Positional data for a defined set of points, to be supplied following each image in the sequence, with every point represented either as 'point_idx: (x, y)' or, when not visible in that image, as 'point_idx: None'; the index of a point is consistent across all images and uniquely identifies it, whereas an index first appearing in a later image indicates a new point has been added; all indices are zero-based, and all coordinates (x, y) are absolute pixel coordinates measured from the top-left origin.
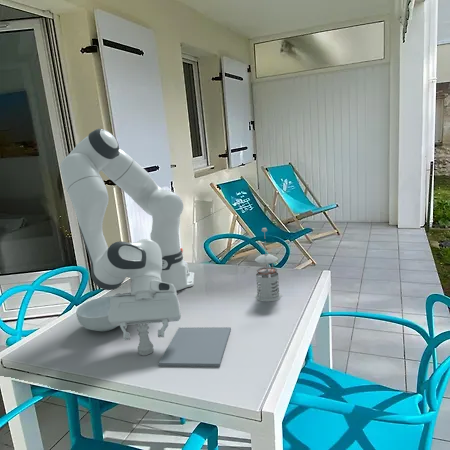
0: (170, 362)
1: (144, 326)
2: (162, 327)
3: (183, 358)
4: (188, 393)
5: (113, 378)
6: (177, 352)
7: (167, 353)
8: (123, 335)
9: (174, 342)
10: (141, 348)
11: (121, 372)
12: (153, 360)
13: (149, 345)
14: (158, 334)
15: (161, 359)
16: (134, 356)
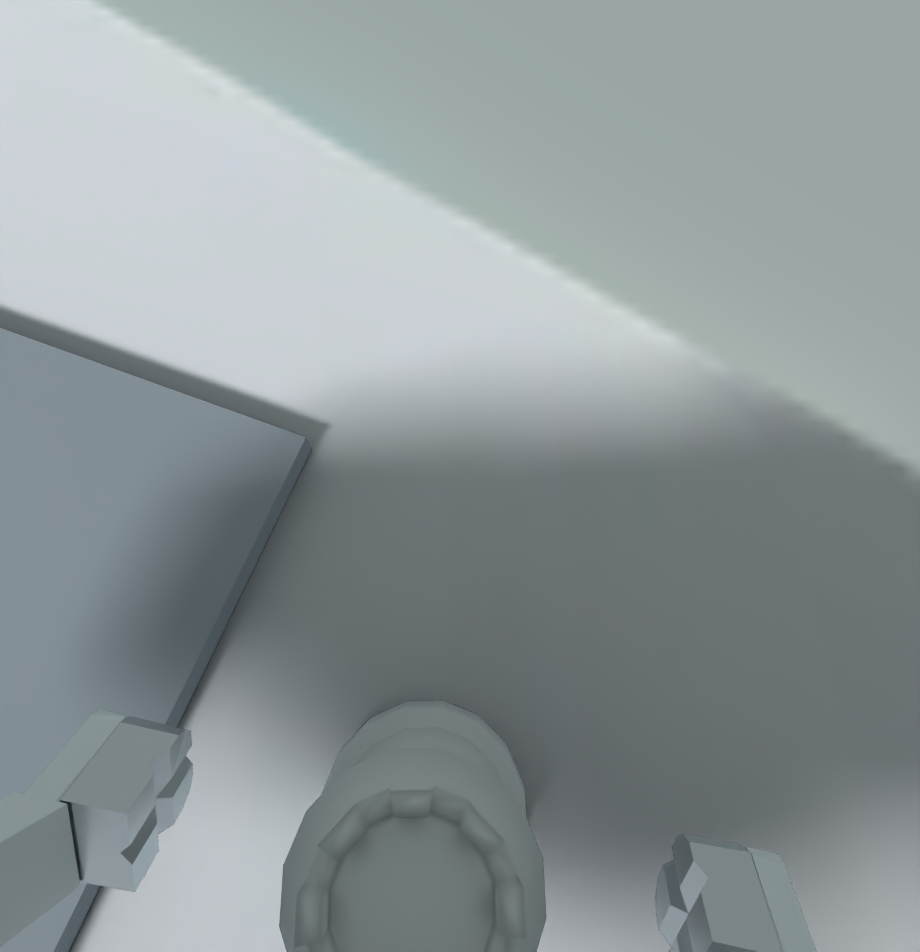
0: (192, 408)
1: (371, 869)
2: (8, 823)
3: (51, 436)
4: (164, 65)
5: (711, 385)
6: (72, 579)
7: (183, 595)
8: (795, 898)
9: None
10: (473, 736)
11: (656, 454)
12: (354, 568)
13: (364, 758)
14: (164, 734)
15: (268, 492)
16: (558, 732)
